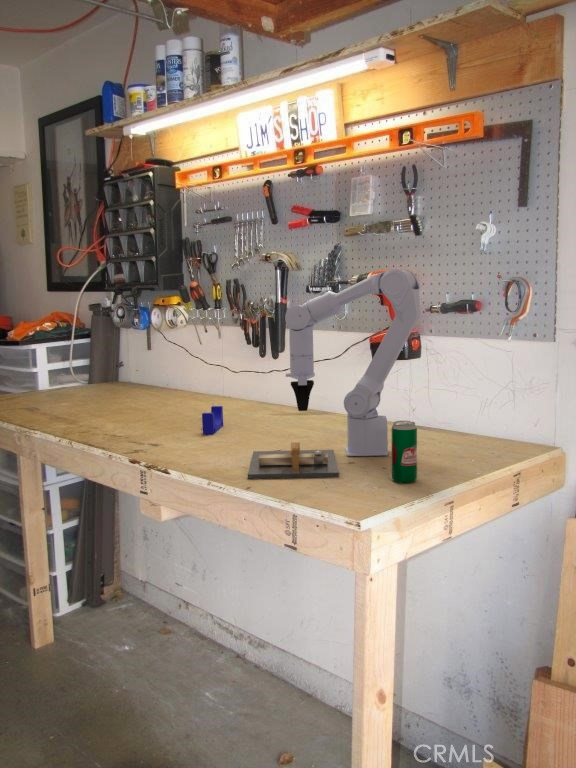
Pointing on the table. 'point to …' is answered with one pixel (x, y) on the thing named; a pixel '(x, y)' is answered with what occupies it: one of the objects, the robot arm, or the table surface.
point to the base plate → (293, 465)
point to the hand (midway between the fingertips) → (302, 410)
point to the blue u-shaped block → (212, 420)
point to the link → (287, 459)
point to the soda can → (404, 452)
